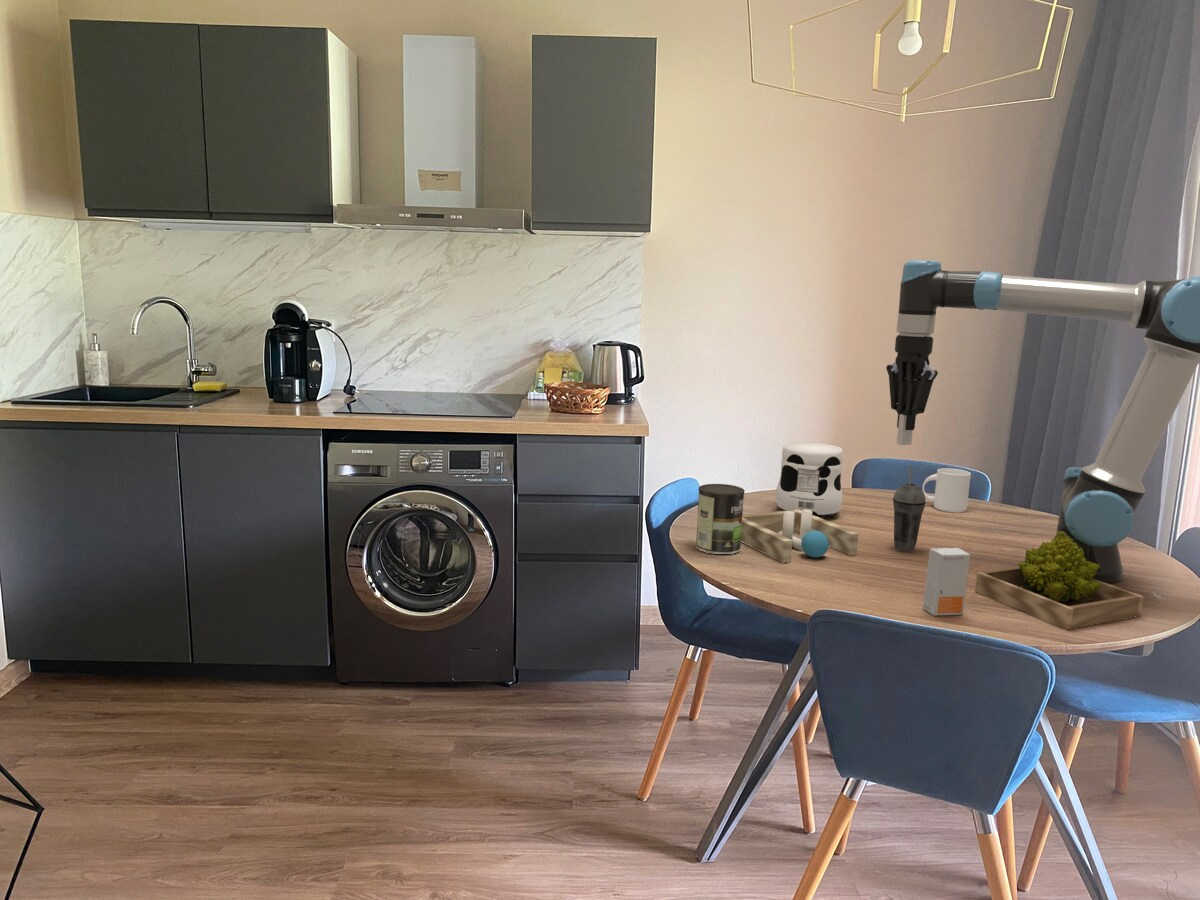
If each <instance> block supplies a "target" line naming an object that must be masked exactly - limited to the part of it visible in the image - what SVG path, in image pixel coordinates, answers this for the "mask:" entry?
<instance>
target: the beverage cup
mask: <svg viewBox="0 0 1200 900" xmlns="http://www.w3.org/2000/svg"><path fill="white" fill-rule="evenodd" d="M912 467H913V466H912V465H909V469H908V470H909V471H908V473H909V475H908V483H904V484H902V485H901V486H899V487H898V488H897V489H896V490H895V491H894V495H893V498H892V501H893V502H892V503H893V509H894V510H893V511H894V512H893V514H894V515H893V516H894V518H893V544H894V547H893V549H894V548H895V549H894V550H896V551H898V550H900V551H899V552H903V551H905V553H913V552H915V548H916V545H917V541H918V535H919V531H920V526H921V521H922V515H923V513H924V510H925V507H926V506H925V505H926V504H927V502H926V498H925V495H924V492H923V488H921V487H920V486H919V485H918V484H914V483H912ZM912 551H913V552H912Z"/></svg>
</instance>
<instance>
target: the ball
mask: <svg viewBox="0 0 1200 900" xmlns="http://www.w3.org/2000/svg"><path fill="white" fill-rule="evenodd" d="M801 546H802V549H803V551H802V552H803V553H804V554H805V555H806V556H808V557H810V558H814V559H815V558H820V557H822V556H824V555H825V554H826V553H827V552H828V550H829V548H830V547H829V541H828V538H827V537H826V535H825V534H824V533H822V532H820V531H810V532H808V533H806V534H805V535H804V536H803V538H802V541H801Z"/></svg>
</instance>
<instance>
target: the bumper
mask: <svg viewBox="0 0 1200 900" xmlns="http://www.w3.org/2000/svg"><path fill="white" fill-rule="evenodd" d="M787 511H792V512H794V526H793V533H798V534H800V526H801V513H802V510H799V509H798V510H787ZM783 516H784V511H782V510H777V511H768V512H755V513H744V514H743V515H742V529H741V541H743V542H744V543H746V544H749V545H751V546H752V547H754V548H756V549H758V550H760V551H762V552H764V553H766V554H768V555H770V556H772V557H773V558H772V557H771V558H772V559H774V558H775V559H777V560H779V561H781V562H783V563H782V564H786V563H785V562H791V563H792V555H793V553H792V552H793V547H792V540H790V539H788V538H786V537H784V536H782V535H779V534H777V533H779V532H780V531H782V530H783ZM811 531H820V532H822V533H824V534H825V535H826V537H827V538H828V541H829V546H830V547H829V548H831V547H832V549H834V550H836V551H838V550H839V551H838V552H840V551H841V553H842V554H845V555H847V554H848V555H847V556H849V555H850V556H855V555H857V554H858V553H857V550H858V543H859V533H858V532H855V531H853V530H850V529H849V528H847V527H843V526H842V525H841V526H840V525H838V524H836V523H833V522H831V521H829V520H826V519H824V518H823V517H817V516H814V515H812V522H811ZM744 543H743V544H744ZM746 544H745V545H746ZM752 547H751V548H752ZM754 548H753V549H754ZM756 549H755V550H756ZM758 550H757V551H758ZM760 551H759V552H760ZM762 552H761V553H762ZM764 553H763V554H764ZM766 554H765V555H766ZM768 555H767V556H768ZM770 556H769V557H770ZM775 559H774V560H775ZM777 560H776V561H777ZM779 561H778V562H779ZM781 562H780V563H781Z"/></svg>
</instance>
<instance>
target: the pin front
mask: <svg viewBox="0 0 1200 900" xmlns="http://www.w3.org/2000/svg"><path fill="white" fill-rule="evenodd" d="M778 534H779V535H782V531H780V532H779V533H778ZM801 541H802V540H801V539H800V537H797V536H795V535H793V539H792V548H794V549H796V550H798V551H800V552H803V551H802V550H803V549H802V546H801Z"/></svg>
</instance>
